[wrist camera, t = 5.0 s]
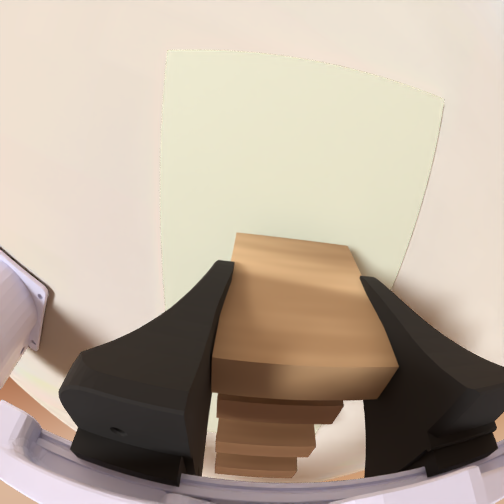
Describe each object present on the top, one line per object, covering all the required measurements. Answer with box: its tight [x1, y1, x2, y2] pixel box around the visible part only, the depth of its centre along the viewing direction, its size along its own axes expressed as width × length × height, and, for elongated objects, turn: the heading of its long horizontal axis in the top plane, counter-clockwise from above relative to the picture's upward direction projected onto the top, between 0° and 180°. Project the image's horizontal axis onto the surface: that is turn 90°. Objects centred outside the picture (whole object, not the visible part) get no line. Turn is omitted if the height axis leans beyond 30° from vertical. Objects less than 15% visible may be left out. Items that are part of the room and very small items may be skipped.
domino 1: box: [211, 232, 399, 400], centre depth 10 cm, size 2×5×7 cm, turn 84°
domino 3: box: [215, 418, 316, 457], centre depth 16 cm, size 2×5×7 cm, turn 84°
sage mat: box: [160, 50, 445, 434], centre depth 18 cm, size 30×13×1 cm, turn 174°
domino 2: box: [216, 393, 344, 424], centre depth 14 cm, size 2×5×7 cm, turn 84°
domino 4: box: [215, 452, 297, 478], centre depth 18 cm, size 2×5×7 cm, turn 84°
